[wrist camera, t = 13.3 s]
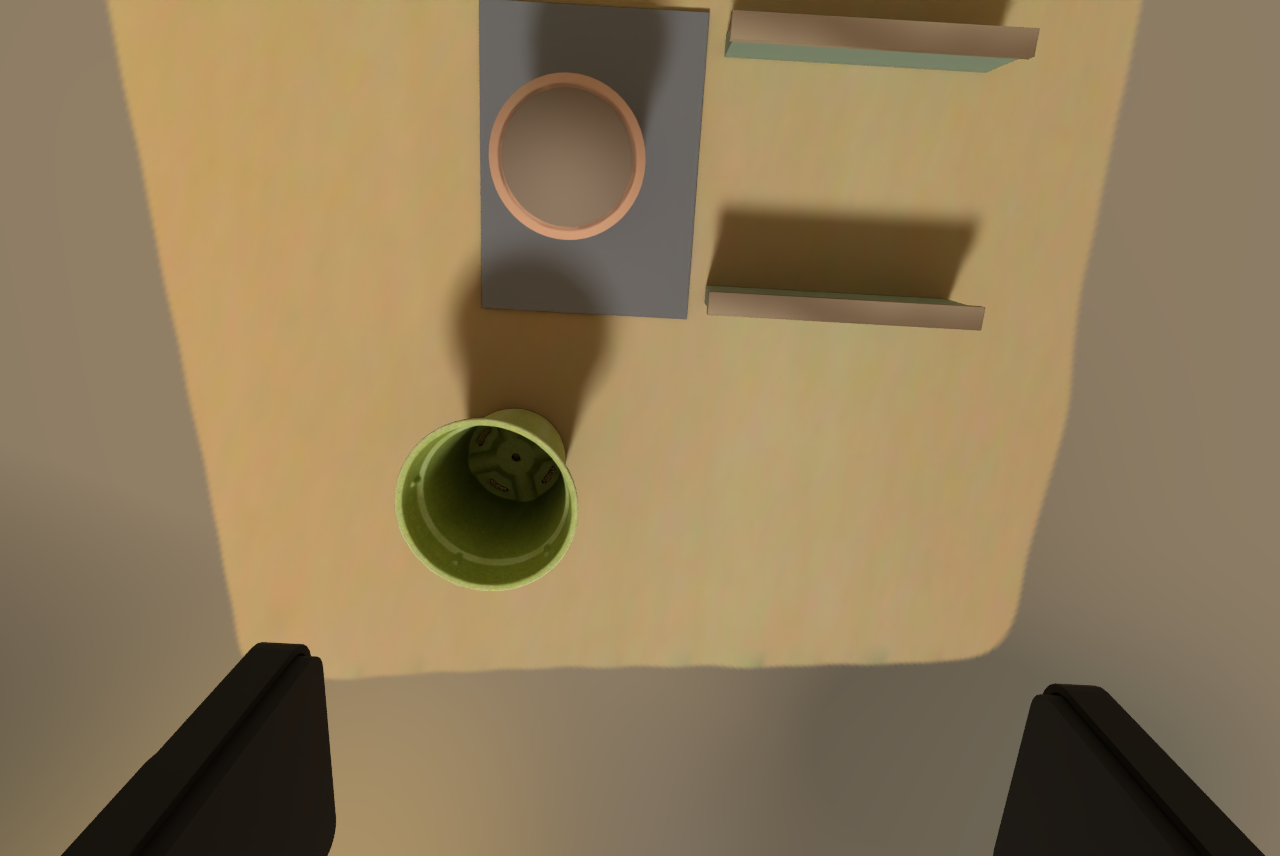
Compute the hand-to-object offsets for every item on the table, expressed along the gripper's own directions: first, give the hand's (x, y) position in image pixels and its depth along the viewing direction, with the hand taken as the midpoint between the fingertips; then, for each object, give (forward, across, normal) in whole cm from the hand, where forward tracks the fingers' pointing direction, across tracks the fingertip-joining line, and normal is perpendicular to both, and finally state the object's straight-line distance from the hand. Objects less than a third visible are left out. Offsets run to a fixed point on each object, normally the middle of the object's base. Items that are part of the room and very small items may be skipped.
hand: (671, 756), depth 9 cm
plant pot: (+34, +8, +8) cm, 36 cm away
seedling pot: (+34, +4, -9) cm, 36 cm away
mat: (+34, +4, -9) cm, 36 cm away
